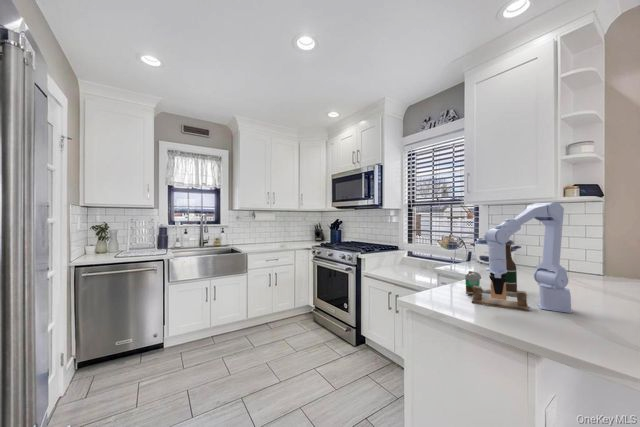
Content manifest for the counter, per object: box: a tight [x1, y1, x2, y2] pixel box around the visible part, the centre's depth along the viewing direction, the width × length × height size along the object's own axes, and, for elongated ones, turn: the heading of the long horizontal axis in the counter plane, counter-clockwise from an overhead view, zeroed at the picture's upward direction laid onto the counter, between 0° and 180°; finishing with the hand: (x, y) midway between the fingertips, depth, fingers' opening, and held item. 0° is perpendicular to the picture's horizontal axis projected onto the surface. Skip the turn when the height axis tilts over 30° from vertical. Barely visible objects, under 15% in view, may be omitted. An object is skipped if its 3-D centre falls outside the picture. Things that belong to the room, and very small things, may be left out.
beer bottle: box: [505, 243, 518, 293], centre depth 133 cm, size 8×8×24 cm
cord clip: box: [490, 280, 507, 300], centre depth 104 cm, size 5×5×6 cm
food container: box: [464, 270, 482, 296], centre depth 129 cm, size 12×6×10 cm, turn 143°
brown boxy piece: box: [471, 285, 530, 312], centre depth 113 cm, size 20×8×6 cm, turn 55°
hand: (498, 292), depth 104 cm, fingers closed on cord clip, 5 cm apart
